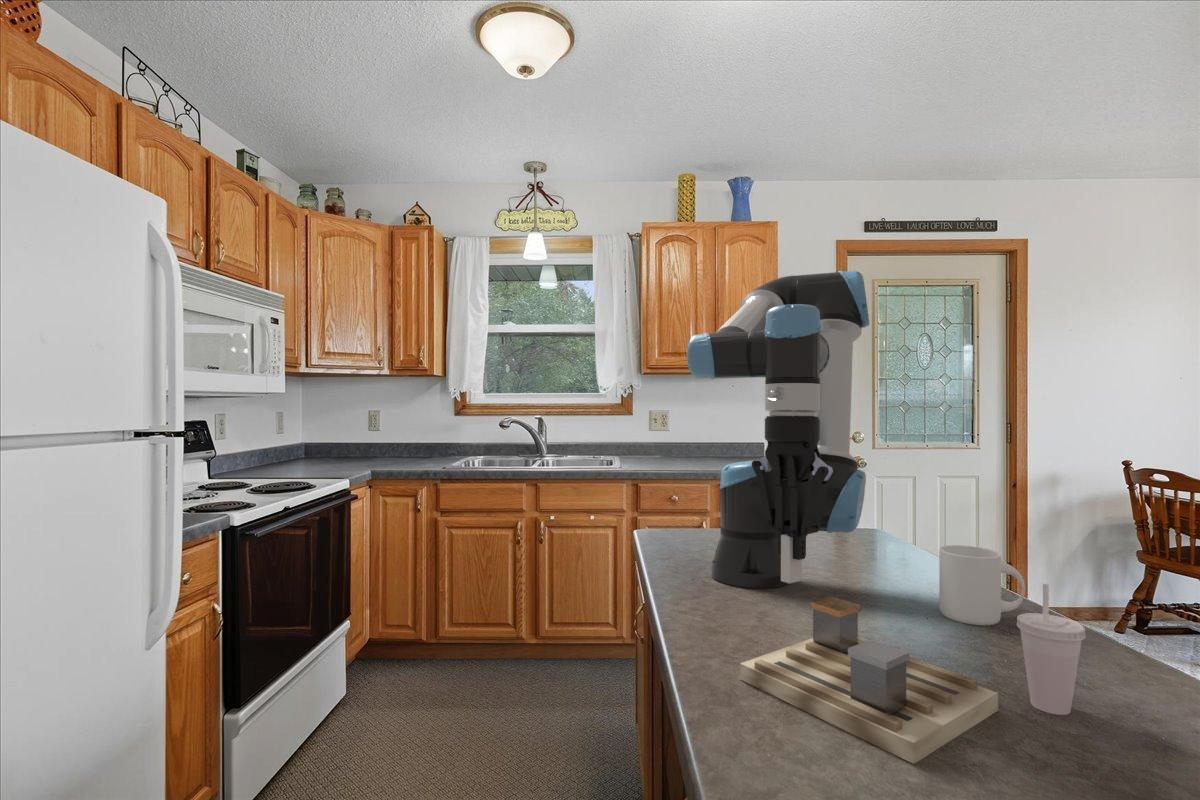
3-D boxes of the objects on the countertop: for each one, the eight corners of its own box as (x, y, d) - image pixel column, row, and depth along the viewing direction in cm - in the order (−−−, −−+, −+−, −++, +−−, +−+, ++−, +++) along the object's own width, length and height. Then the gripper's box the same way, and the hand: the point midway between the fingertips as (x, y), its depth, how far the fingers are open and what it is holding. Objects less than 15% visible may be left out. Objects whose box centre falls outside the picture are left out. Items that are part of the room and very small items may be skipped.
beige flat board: (739, 679, 77) (739, 656, 77) (827, 647, 88) (827, 627, 88) (913, 763, 59) (913, 734, 59) (997, 710, 69) (997, 685, 69)
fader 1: (810, 645, 82) (810, 601, 83) (830, 638, 85) (830, 596, 85) (840, 656, 79) (840, 611, 79) (859, 648, 81) (860, 604, 81)
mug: (1033, 632, 93) (1033, 561, 93) (944, 622, 98) (944, 554, 98) (1017, 614, 102) (1017, 549, 102) (935, 605, 106) (935, 543, 106)
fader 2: (847, 701, 67) (847, 648, 67) (870, 690, 69) (870, 639, 69) (886, 718, 63) (886, 662, 63) (909, 706, 66) (909, 652, 66)
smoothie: (1003, 694, 73) (1003, 576, 73) (1053, 692, 74) (1053, 575, 74) (1046, 722, 67) (1046, 593, 67) (1101, 720, 68) (1101, 592, 68)
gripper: (739, 413, 91) (738, 574, 91) (815, 414, 80) (814, 596, 80) (772, 414, 95) (771, 567, 95) (848, 415, 85) (848, 587, 84)
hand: (791, 580), depth 87 cm, fingers closed
